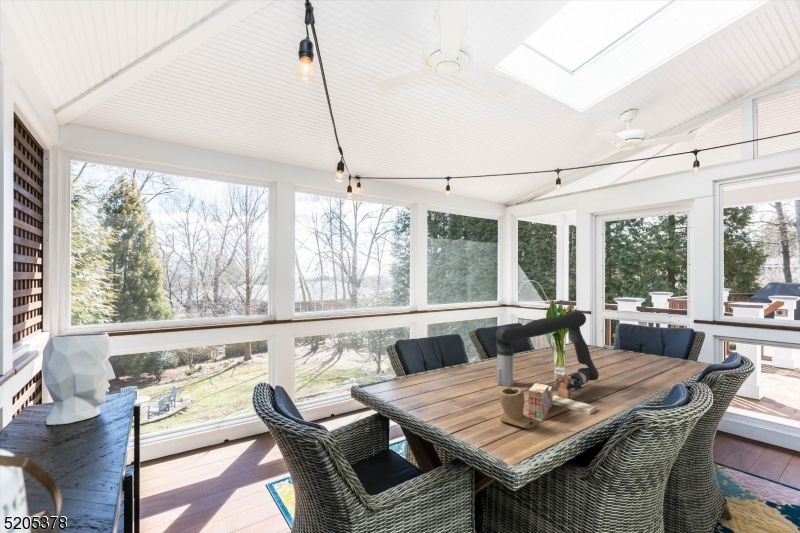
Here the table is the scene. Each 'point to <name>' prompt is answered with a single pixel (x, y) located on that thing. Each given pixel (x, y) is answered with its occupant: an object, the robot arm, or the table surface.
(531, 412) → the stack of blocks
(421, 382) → the table surface
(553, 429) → the table surface
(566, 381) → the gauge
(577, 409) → the board
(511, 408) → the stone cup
